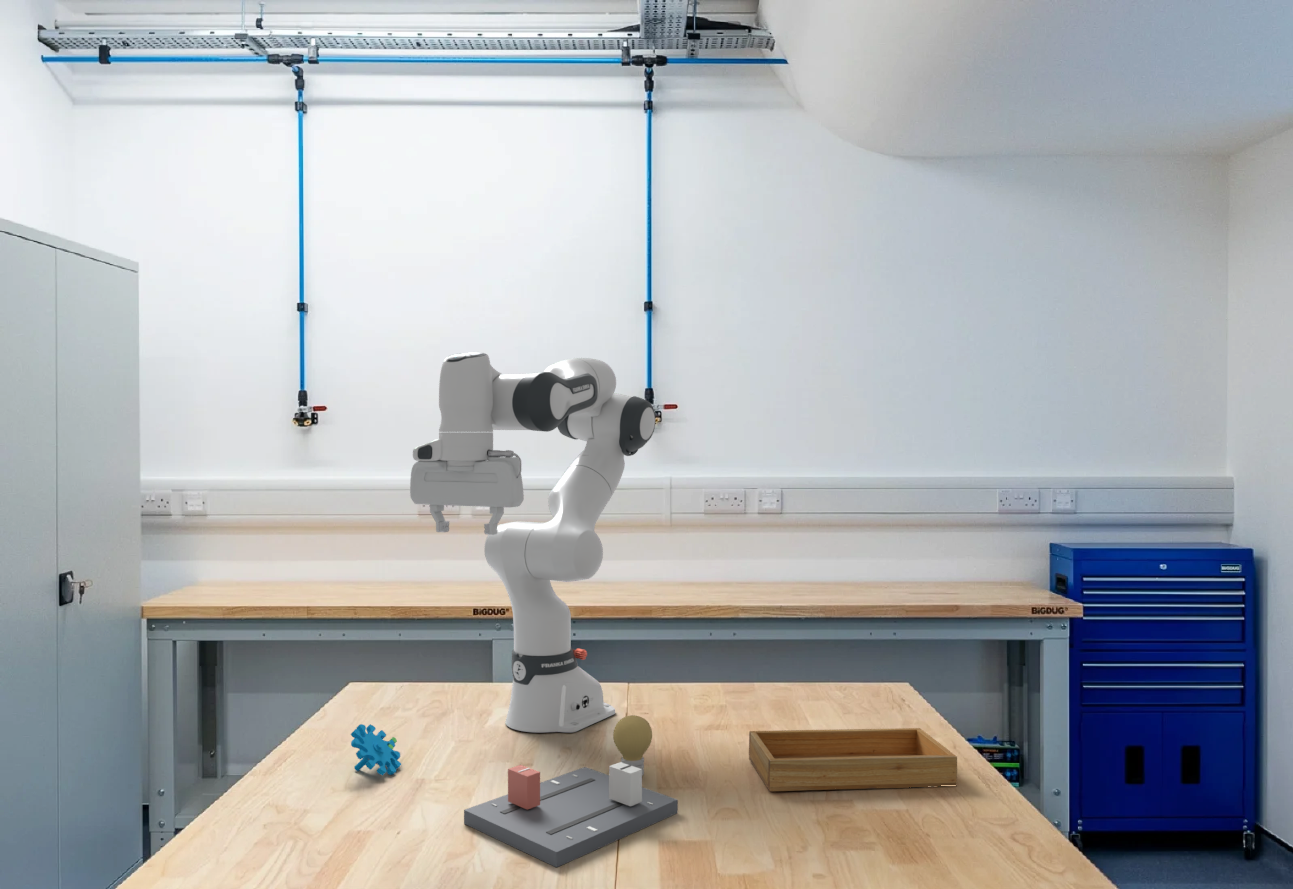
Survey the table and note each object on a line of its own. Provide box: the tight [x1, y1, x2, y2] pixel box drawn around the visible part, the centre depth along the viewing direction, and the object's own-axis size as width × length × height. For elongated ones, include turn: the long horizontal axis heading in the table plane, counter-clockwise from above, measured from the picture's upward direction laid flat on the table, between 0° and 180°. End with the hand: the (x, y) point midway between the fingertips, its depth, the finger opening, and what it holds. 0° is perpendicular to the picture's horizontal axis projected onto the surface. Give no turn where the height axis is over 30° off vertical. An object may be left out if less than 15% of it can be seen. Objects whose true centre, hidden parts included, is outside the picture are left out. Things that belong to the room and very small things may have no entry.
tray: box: [748, 727, 958, 792], centre depth 155 cm, size 31×15×6 cm, turn 96°
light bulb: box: [612, 715, 653, 777], centre depth 153 cm, size 6×6×10 cm
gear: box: [350, 723, 402, 776], centre depth 156 cm, size 11×6×10 cm
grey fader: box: [608, 761, 643, 806], centre depth 138 cm, size 2×4×5 cm, turn 47°
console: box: [463, 766, 679, 868], centre depth 137 cm, size 24×20×2 cm
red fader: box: [507, 764, 541, 810], centre depth 137 cm, size 2×4×5 cm, turn 47°
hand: (466, 533), depth 155 cm, fingers open, 8 cm apart
